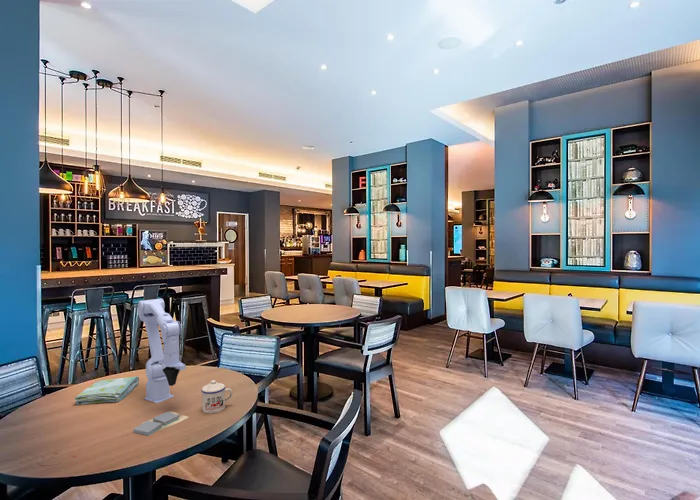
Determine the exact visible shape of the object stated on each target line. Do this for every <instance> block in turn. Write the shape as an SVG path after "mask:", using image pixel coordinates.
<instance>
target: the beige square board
mask: <svg viewBox="0 0 700 500" xmlns="http://www.w3.org/2000/svg"><path fill="white" fill-rule="evenodd" d="M167 412H170V413H173V414H176V415H178V416H179V419H178V420H176V421H174V422H172V423H170V424H168V425H166V426H163V425H162V428H160V429H159V430H157V431H158V432H162V431H165V430H166V429H169V428H170V427H173V426H175V425H177V424H179V423H180V422H182V421H185V420H187V419H189V418H190V416H186V415H184V414H181V413H178V412H175V411H172V410H167ZM153 418H154V417H152V418H150V419H147V420H145V421H143V422H141V423H140V425H141V424H143V423H144V422H146V421H152V422H153Z"/></svg>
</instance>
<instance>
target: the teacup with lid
mask: <svg viewBox="0 0 700 500" xmlns="http://www.w3.org/2000/svg"><path fill="white" fill-rule="evenodd" d="M200 391H201V397H202V398H201V402H202V403H201V405H202V407H201V408H202V412H203V413H205V414H215V413H219V412H222V411H223V410H225V408H226V402H228V401H230V400H231V398H233V395H234V394H233V390H232V389H231V388H226V385H225V384H224V383H221V382H217V380H215V379H212V380H211V381H210V382H209V383H208V384H205V385H204V386H203V387H202V388H201V390H200ZM226 392H230V395H229V396H228V397H227V398H226V397H225V395H226Z"/></svg>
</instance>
